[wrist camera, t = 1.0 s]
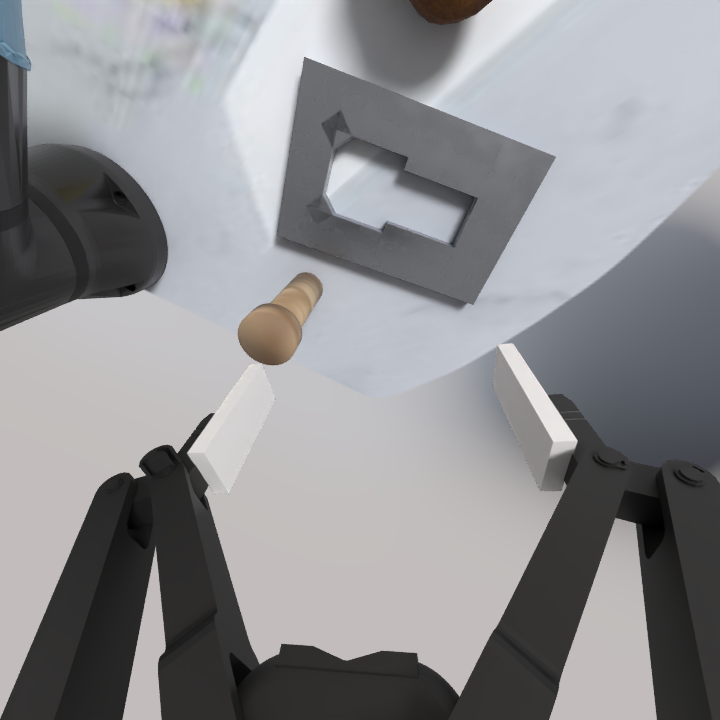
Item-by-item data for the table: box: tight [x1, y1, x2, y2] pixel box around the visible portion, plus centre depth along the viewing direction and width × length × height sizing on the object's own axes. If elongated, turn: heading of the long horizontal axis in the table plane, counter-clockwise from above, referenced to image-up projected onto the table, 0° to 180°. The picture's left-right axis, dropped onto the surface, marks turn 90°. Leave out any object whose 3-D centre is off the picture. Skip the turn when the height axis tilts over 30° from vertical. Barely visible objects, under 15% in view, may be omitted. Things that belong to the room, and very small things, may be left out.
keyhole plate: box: [277, 57, 556, 305], centre depth 29 cm, size 22×14×2 cm, turn 72°
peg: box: [238, 272, 323, 365], centre depth 30 cm, size 5×5×13 cm
